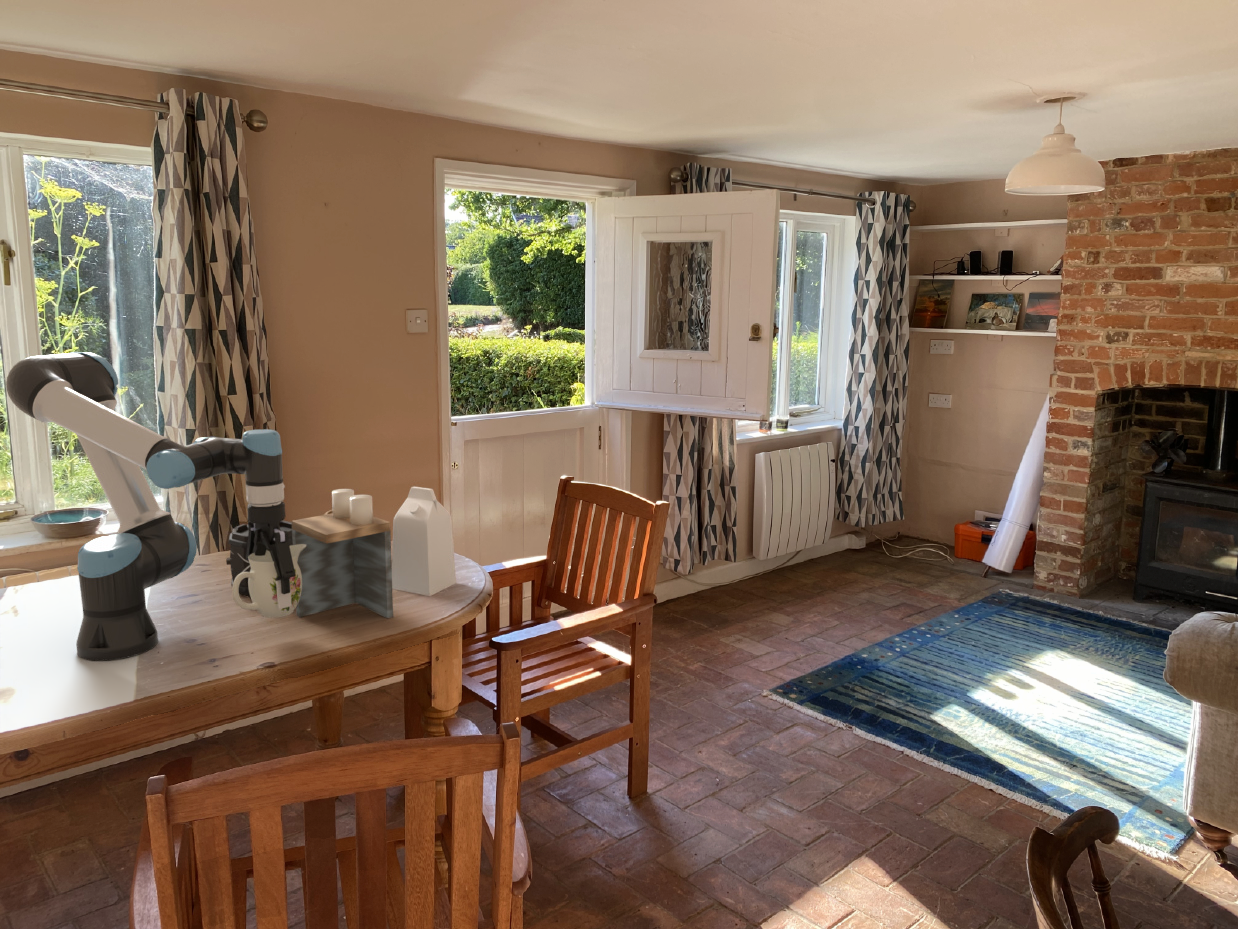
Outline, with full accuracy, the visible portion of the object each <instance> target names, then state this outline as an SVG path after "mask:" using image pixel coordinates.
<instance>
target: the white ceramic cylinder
mask: <svg viewBox="0 0 1238 929" xmlns="http://www.w3.org/2000/svg"><path fill="white" fill-rule="evenodd" d="M354 495H355V490H354V489H353V488H352V489H351V488H338V489H333V490H332V491H331V499H332V500H331V503H332V504H331V505H332V507H331V508H332V509H331V510H333V518H337V519H346V518H350V501H349V497H351V496H354Z"/></svg>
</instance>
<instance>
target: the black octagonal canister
mask: <svg viewBox="0 0 1238 929" xmlns="http://www.w3.org/2000/svg"><path fill="white" fill-rule="evenodd" d="M279 526H280V530H281V531H287V532H288V542H289V546H291V545H293V540H292V521H287V520H282V521H280V523H279ZM248 533H249V529H248V523H247V524H246V523H243V524H240V525H238V526H237V525H236V526H235V527H234V528H232V532H231V533H229V536H228V541H227V543H228V545H230V551H229V552H230V553H229V557H226V558H225V559H226V560H225V561H226V565H228V566H229V565H230V573H231V587H232V586H233V582H234V580H235V578H236V576H237V575H238V574H240V573H242V572H250V570H251V567H250V563H249V561H247V560H246V553H247V543H248ZM248 579H249V578H244V579H242V580H241V582H240V584H239V596H240V595H242V596H244V597H247V598H251V597H250V593H249V587H248Z"/></svg>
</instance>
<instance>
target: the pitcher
mask: <svg viewBox="0 0 1238 929" xmlns="http://www.w3.org/2000/svg"><path fill="white" fill-rule="evenodd" d="M305 547H306V544H297V545H291V546H290V551H291V556H292V560H293V565H294V570H295V577H291V578H290V589H291V605H292V606H290V607H286V608H282V609H278V603H277V587H276V580H275V578H277V577H278V576H277V573H276V569H275V566H274V562H273V560H272V557H271V554H270V552H269V551H267V550H266V553H265V555H264V556H256V555H255V553H252V554H250V555H249V556H248V560H249V563H250V567H251V570H250V572H242V573H240V574H238V575H237V576H236V578H235V580H234V582H233V586H231V593H232V598H233V601H234V603H235V604H236V605H237V606H238V607H239V608H242V609H243V610H246V611H247V610H250V611H254V610H255V611H257V612H258V613H259V614H260V615H261V616H262V617H265V618H269V619H276V618H284V617H286V616H289V615H291V614H293V612H294V611H295V610H296V607H297V605H298V602H299V599H300V596H301V591H302V575H301V571H300V568H299V566H298V564H297V561H298V557H299V554H300V552H301V551H302V550H303V549H304V548H305ZM244 578H249V579H248V587H249V593H250V597H249V598H250V599H251V602H252V603H247V602H245V601H244V600H242V599H241V596H240V594H239V584H240V582H241V580H242V579H244Z"/></svg>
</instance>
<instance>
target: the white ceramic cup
mask: <svg viewBox="0 0 1238 929" xmlns="http://www.w3.org/2000/svg"><path fill="white" fill-rule="evenodd" d="M349 501H350V524H352V525H369V524H372V523H373V516H374V512H373V495H370V494H354V496H351V497H349Z"/></svg>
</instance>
